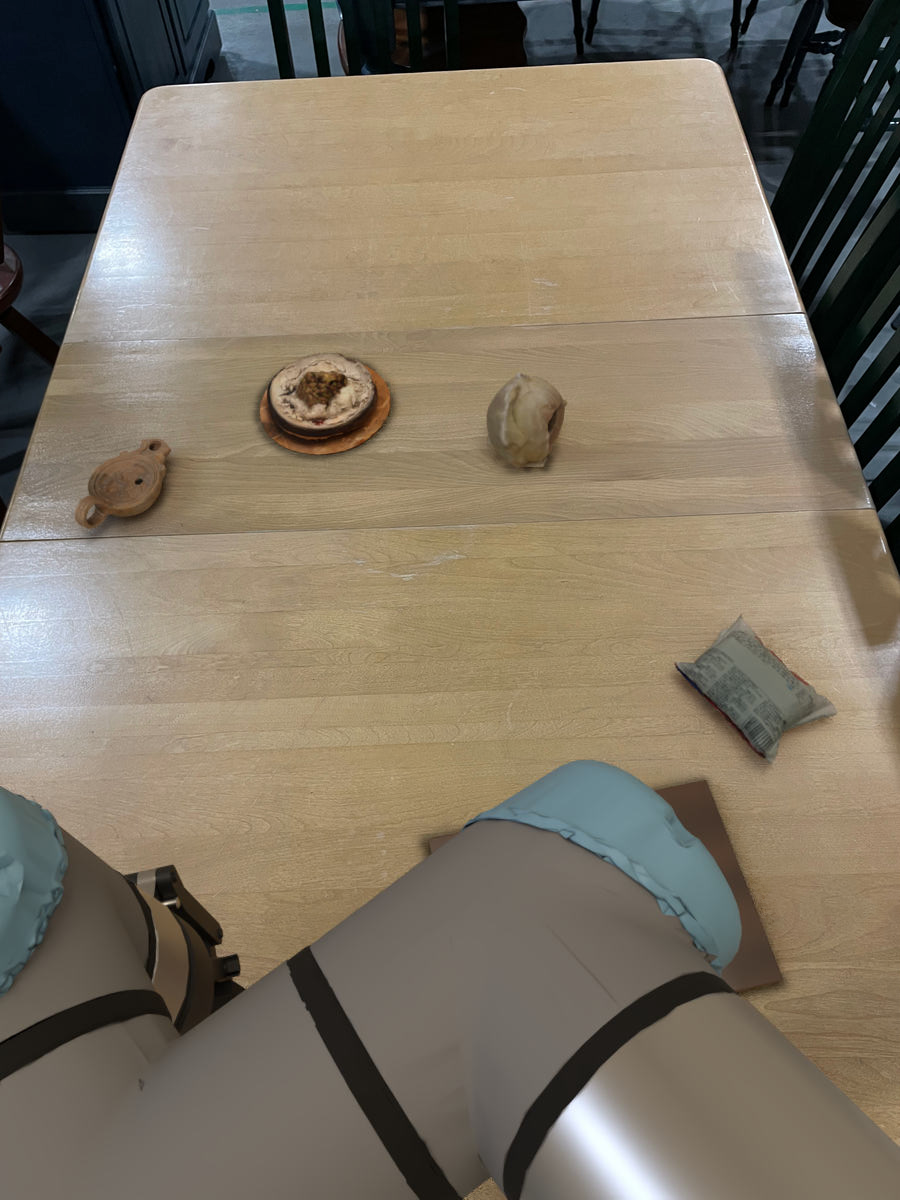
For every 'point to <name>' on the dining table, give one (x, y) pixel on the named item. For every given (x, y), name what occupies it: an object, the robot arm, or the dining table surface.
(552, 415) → the beige rounded shell
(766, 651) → the packaged food
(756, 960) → the cutting board
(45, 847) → the robot arm
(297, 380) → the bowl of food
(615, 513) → the dining table surface
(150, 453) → the oil lamp
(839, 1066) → the dining table surface
